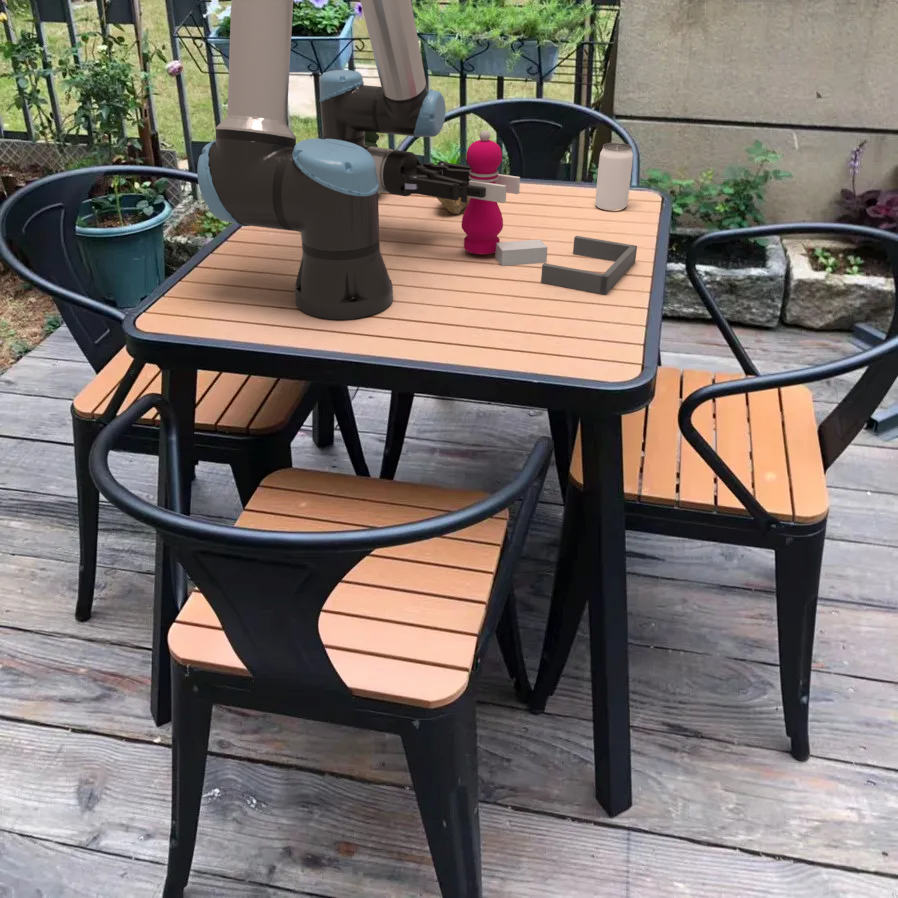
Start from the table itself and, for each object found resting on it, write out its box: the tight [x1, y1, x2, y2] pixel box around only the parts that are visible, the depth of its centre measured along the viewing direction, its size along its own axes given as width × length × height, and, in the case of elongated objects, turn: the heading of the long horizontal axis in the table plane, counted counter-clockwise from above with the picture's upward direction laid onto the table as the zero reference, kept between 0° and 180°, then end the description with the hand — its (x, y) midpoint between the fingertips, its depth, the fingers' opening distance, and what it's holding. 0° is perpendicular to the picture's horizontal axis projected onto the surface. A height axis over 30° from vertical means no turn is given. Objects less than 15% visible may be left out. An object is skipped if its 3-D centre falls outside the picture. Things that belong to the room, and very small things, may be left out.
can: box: [594, 142, 634, 210], centre depth 172 cm, size 6×6×12 cm
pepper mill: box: [461, 129, 504, 255], centre depth 147 cm, size 7×7×20 cm
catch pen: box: [540, 235, 638, 296], centre depth 145 cm, size 16×11×3 cm
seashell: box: [436, 196, 470, 215], centre depth 173 cm, size 14×8×8 cm, turn 5°
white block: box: [495, 239, 548, 267], centre depth 149 cm, size 8×4×3 cm, turn 103°
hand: (511, 189), depth 145 cm, fingers closed on pepper mill, 5 cm apart
